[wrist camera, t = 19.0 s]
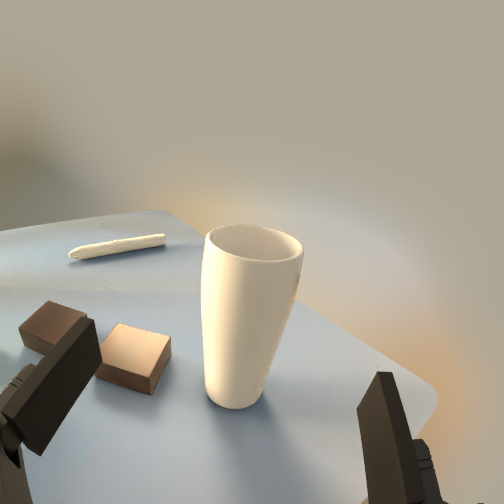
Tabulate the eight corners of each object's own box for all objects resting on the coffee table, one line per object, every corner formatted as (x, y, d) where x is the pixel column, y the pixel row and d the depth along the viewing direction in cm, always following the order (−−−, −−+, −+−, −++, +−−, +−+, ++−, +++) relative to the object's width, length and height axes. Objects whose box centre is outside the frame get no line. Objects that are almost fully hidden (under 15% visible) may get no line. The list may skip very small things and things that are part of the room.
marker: (69, 263, 42) (67, 250, 41) (67, 258, 44) (66, 245, 43) (166, 246, 54) (166, 234, 53) (161, 242, 55) (161, 230, 54)
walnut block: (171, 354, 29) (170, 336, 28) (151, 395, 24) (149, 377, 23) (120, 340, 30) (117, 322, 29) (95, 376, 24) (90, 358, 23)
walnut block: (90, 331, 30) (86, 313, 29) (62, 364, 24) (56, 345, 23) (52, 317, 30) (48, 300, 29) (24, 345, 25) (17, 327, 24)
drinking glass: (223, 356, 30) (240, 217, 25) (280, 385, 28) (319, 242, 22) (181, 392, 25) (182, 237, 19) (244, 430, 22) (278, 274, 16)
